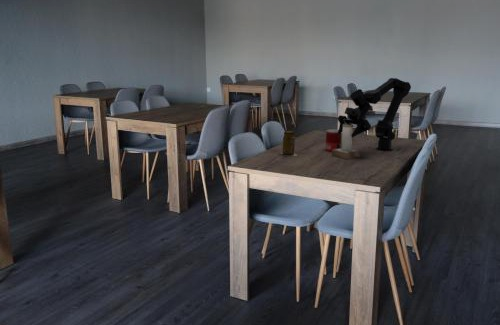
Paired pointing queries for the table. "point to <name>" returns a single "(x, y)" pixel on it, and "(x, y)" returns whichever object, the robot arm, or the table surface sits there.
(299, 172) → the table surface
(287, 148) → the condiment
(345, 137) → the tumbler
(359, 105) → the robot arm
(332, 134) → the canned food
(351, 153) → the plinth
